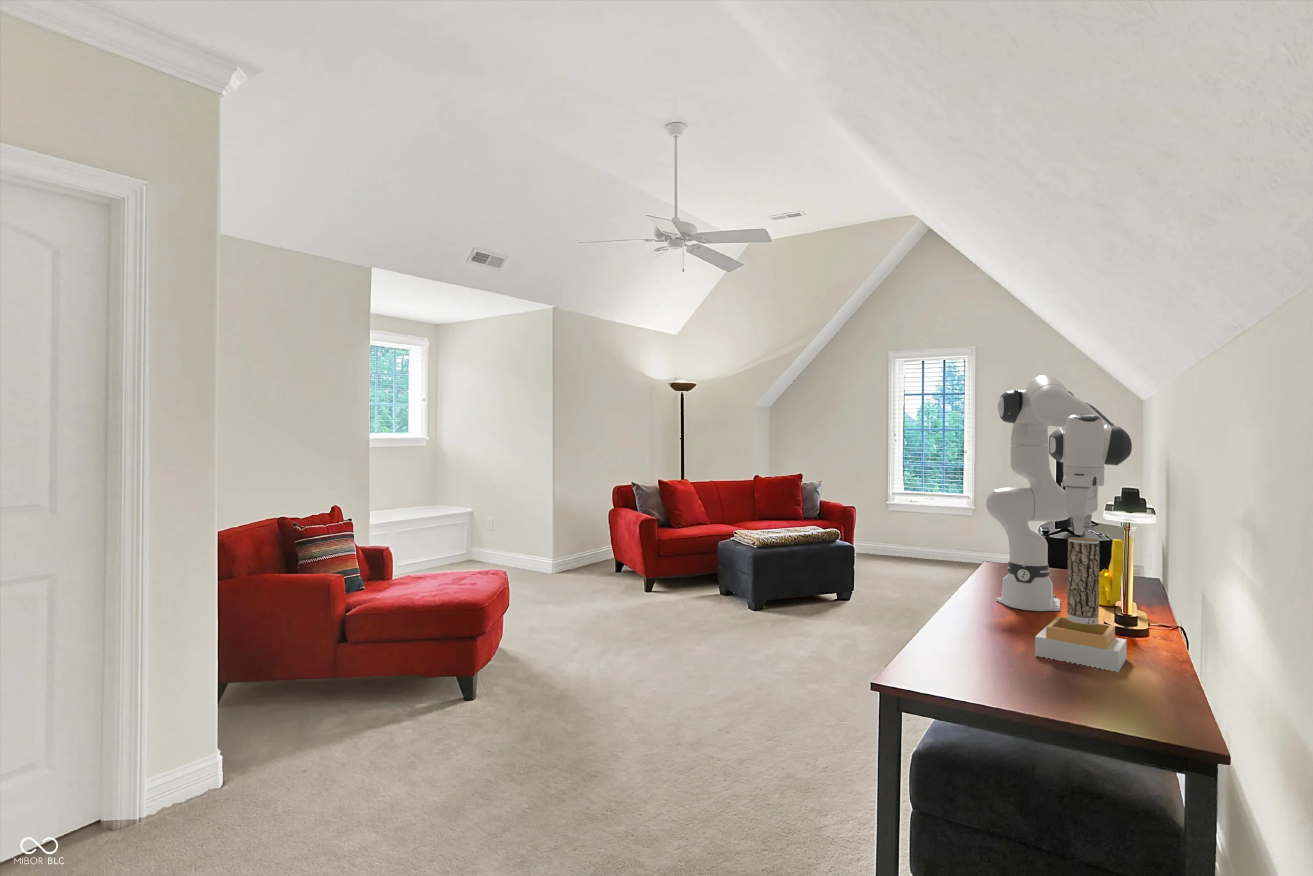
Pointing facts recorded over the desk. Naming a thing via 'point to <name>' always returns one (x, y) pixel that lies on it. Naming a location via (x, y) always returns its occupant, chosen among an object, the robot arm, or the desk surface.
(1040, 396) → the robot arm
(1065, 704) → the desk surface
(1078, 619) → the paper tube
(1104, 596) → the figure statuette
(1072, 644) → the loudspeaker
